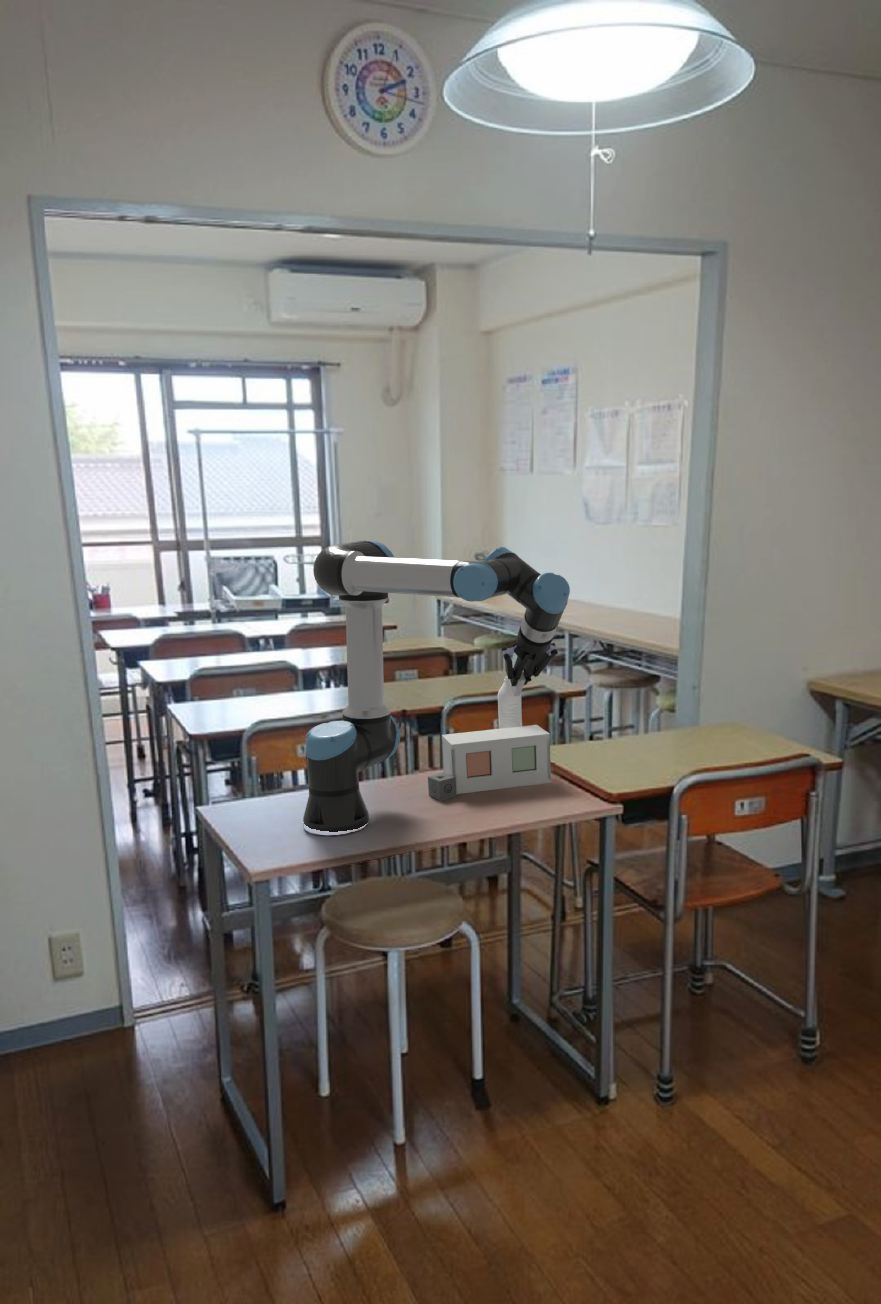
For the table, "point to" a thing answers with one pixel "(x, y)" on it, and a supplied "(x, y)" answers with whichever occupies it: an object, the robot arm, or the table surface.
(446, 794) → the dice cube
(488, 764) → the terracotta button
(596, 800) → the table surface
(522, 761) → the sage button
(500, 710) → the water bottle
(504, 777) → the box
